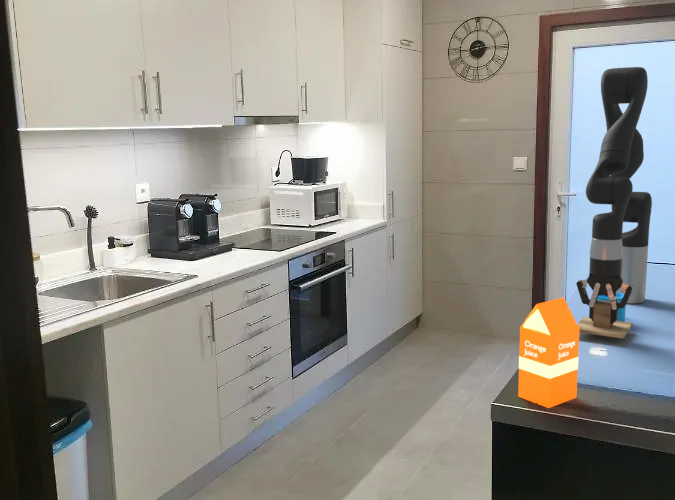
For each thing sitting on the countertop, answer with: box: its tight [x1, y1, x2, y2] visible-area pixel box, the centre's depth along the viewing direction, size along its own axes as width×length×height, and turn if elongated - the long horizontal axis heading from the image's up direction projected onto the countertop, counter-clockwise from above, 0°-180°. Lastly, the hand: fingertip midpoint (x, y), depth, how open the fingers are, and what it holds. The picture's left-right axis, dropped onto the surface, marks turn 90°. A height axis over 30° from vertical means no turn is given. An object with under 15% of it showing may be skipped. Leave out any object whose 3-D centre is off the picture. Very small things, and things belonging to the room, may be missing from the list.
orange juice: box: [517, 296, 580, 409], centre depth 139 cm, size 8×9×20 cm
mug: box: [597, 292, 627, 322], centre depth 191 cm, size 12×8×8 cm
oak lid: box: [577, 300, 633, 338], centre depth 178 cm, size 12×12×7 cm
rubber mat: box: [579, 330, 637, 348], centre depth 179 cm, size 14×14×1 cm
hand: (602, 321), depth 178 cm, fingers closed on oak lid, 4 cm apart
